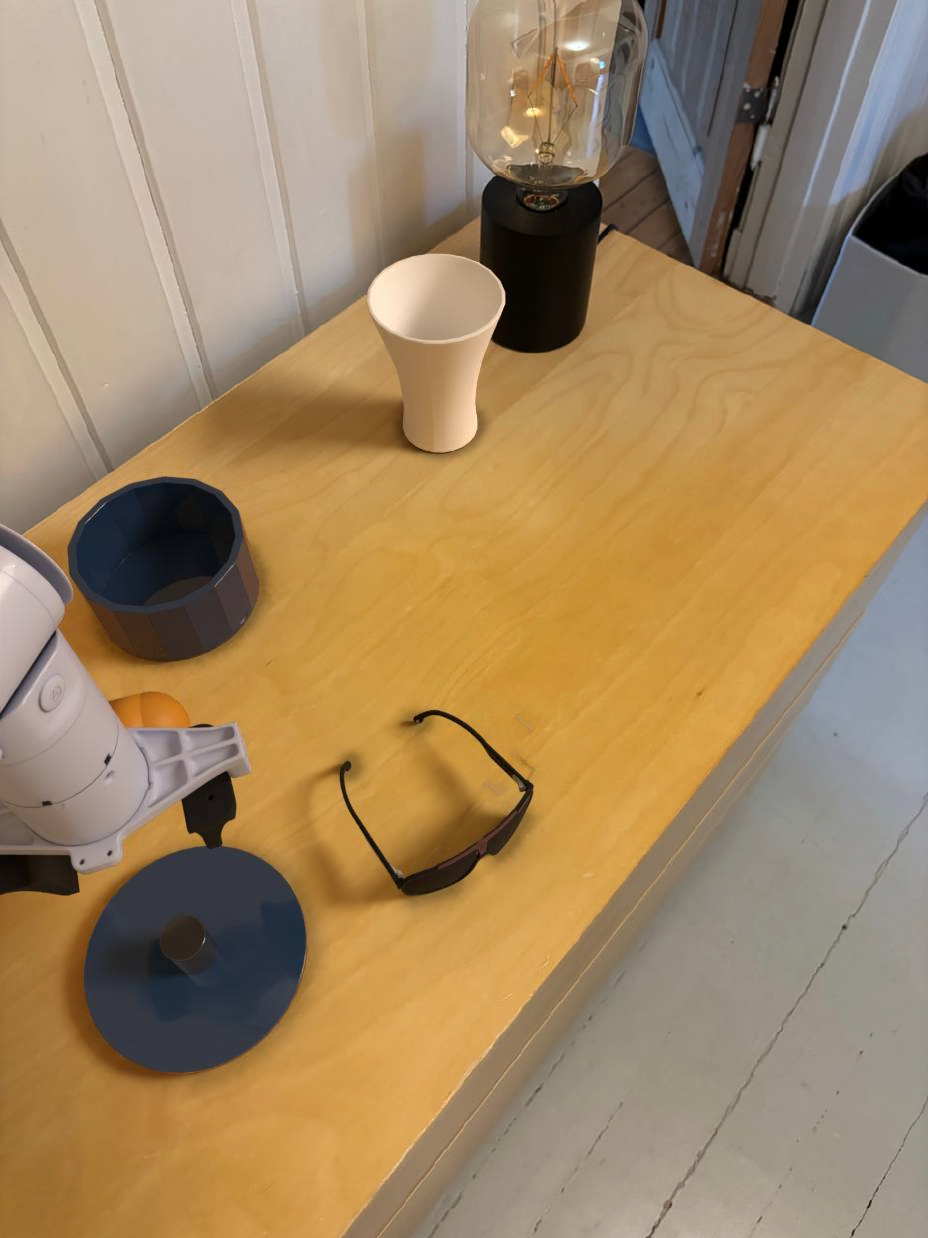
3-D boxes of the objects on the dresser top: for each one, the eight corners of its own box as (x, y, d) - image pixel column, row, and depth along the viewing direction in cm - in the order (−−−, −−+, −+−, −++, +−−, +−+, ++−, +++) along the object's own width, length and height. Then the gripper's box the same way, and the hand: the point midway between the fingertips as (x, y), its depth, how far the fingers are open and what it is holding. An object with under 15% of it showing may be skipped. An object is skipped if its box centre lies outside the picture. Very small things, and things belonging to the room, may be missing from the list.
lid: (98, 1107, 53) (71, 1097, 49) (82, 883, 60) (58, 861, 56) (328, 1035, 55) (319, 1021, 51) (287, 827, 62) (276, 802, 58)
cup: (507, 390, 84) (513, 259, 73) (491, 477, 78) (495, 349, 67) (392, 378, 85) (381, 247, 74) (369, 463, 79) (352, 335, 68)
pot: (104, 679, 68) (72, 631, 62) (92, 550, 74) (63, 496, 69) (271, 639, 70) (255, 588, 64) (245, 517, 76) (228, 462, 71)
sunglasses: (419, 929, 58) (409, 896, 54) (321, 794, 64) (305, 757, 60) (551, 830, 61) (550, 793, 57) (444, 712, 68) (438, 672, 64)
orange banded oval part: (93, 790, 64) (69, 776, 59) (83, 721, 65) (58, 702, 60) (202, 762, 65) (187, 746, 60) (190, 695, 66) (173, 674, 62)
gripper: (-132, 890, 36) (11, 972, 48) (238, 773, 39) (290, 878, 50) (-132, 734, 40) (1, 845, 51) (206, 637, 42) (261, 763, 54)
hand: (143, 853), depth 51 cm, fingers open, 7 cm apart
